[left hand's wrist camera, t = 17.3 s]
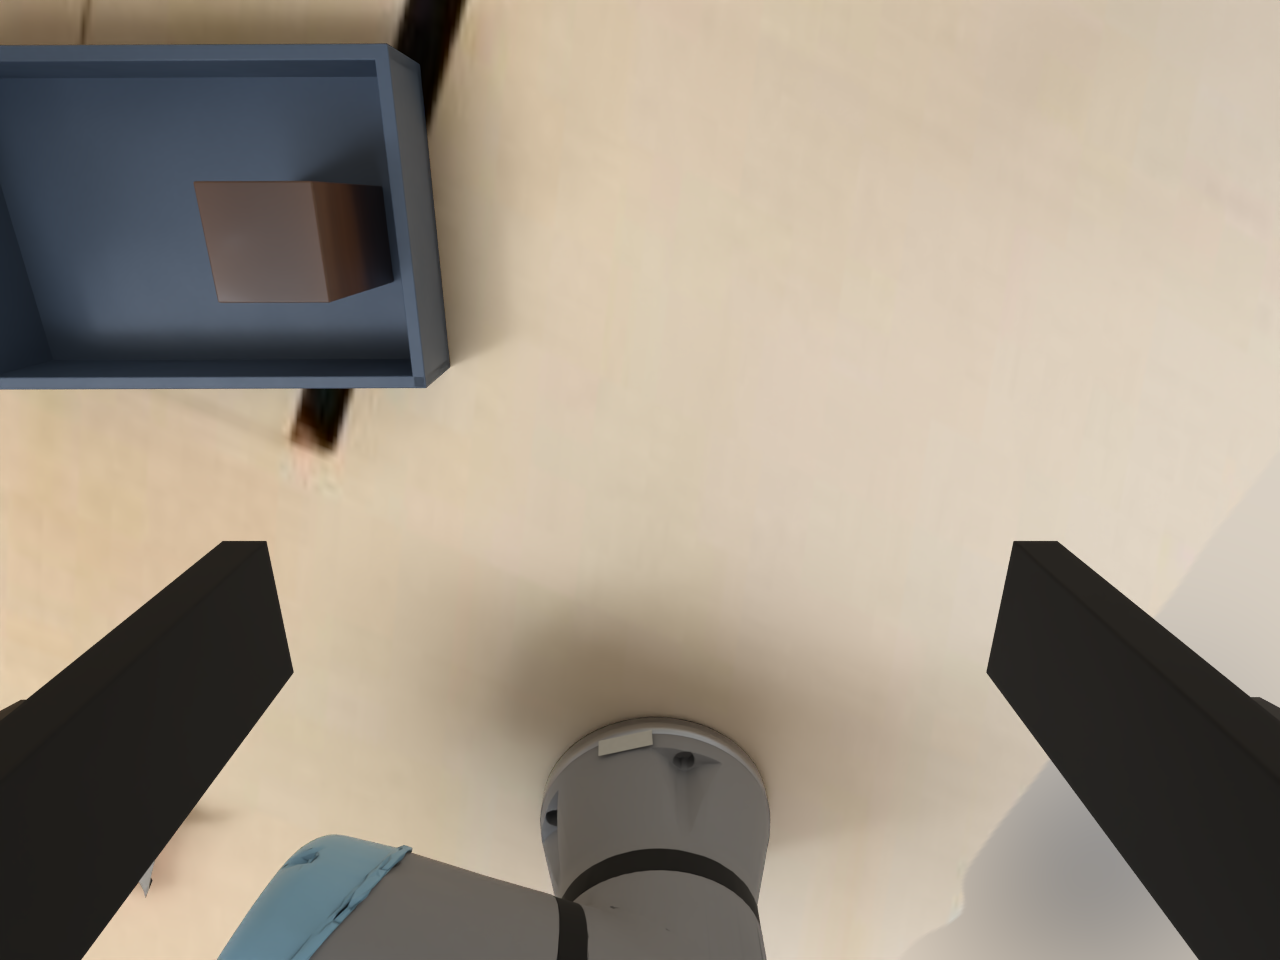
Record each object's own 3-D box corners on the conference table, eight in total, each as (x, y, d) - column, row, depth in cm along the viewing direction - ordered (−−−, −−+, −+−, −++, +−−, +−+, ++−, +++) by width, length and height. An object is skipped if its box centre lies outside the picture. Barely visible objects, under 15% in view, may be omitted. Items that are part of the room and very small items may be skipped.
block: (382, 185, 34) (311, 180, 27) (394, 282, 36) (330, 302, 29) (288, 186, 34) (192, 181, 27) (305, 282, 36) (217, 302, 29)
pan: (420, 63, 33) (366, 29, 27) (450, 367, 38) (411, 401, 32) (-210, 66, 33) (-418, 32, 27) (-96, 369, 38) (-247, 403, 32)
